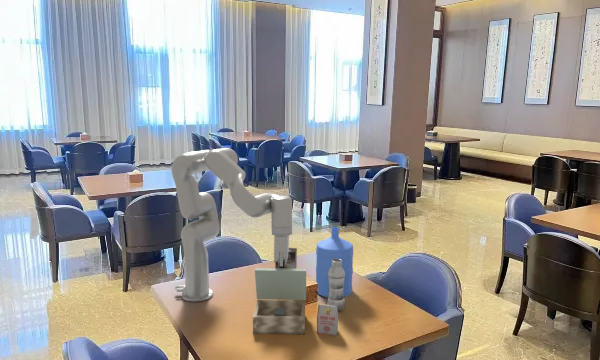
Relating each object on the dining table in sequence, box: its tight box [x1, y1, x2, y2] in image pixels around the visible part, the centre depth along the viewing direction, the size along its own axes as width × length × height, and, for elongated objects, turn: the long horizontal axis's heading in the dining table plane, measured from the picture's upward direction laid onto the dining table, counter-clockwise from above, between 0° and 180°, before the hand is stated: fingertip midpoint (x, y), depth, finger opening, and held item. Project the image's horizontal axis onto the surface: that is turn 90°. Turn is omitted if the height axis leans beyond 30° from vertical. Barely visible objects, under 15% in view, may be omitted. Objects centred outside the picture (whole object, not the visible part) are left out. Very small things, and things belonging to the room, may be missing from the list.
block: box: [274, 308, 286, 316], centre depth 163 cm, size 5×4×4 cm
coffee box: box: [274, 247, 298, 269], centre depth 199 cm, size 9×6×16 cm
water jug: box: [315, 226, 354, 299], centre depth 191 cm, size 16×16×28 cm
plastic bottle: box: [327, 259, 346, 312], centre depth 175 cm, size 6×7×20 cm
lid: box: [254, 267, 307, 301], centre depth 167 cm, size 19×15×1 cm
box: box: [252, 299, 306, 335], centre depth 164 cm, size 18×14×6 cm
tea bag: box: [316, 303, 339, 337], centre depth 158 cm, size 4×7×10 cm, turn 74°
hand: (282, 277), depth 168 cm, fingers closed
